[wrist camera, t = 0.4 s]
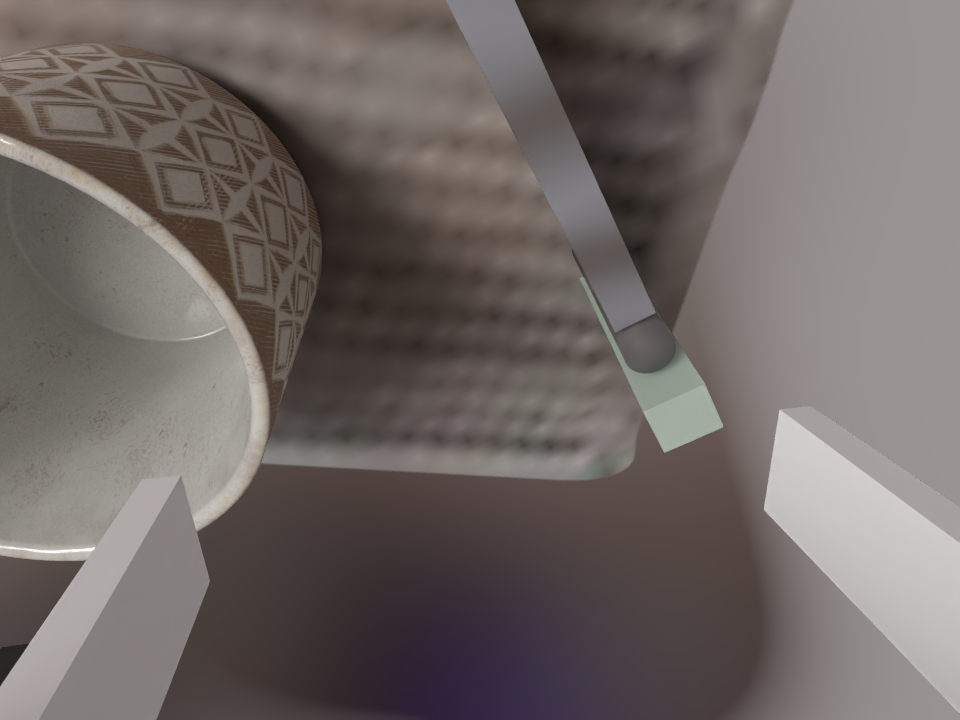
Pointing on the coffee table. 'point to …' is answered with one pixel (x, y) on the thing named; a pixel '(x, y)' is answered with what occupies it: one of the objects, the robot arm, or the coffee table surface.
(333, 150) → the coffee table surface
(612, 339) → the gatepost
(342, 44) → the coffee table surface
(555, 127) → the gate
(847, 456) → the robot arm
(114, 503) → the planter
